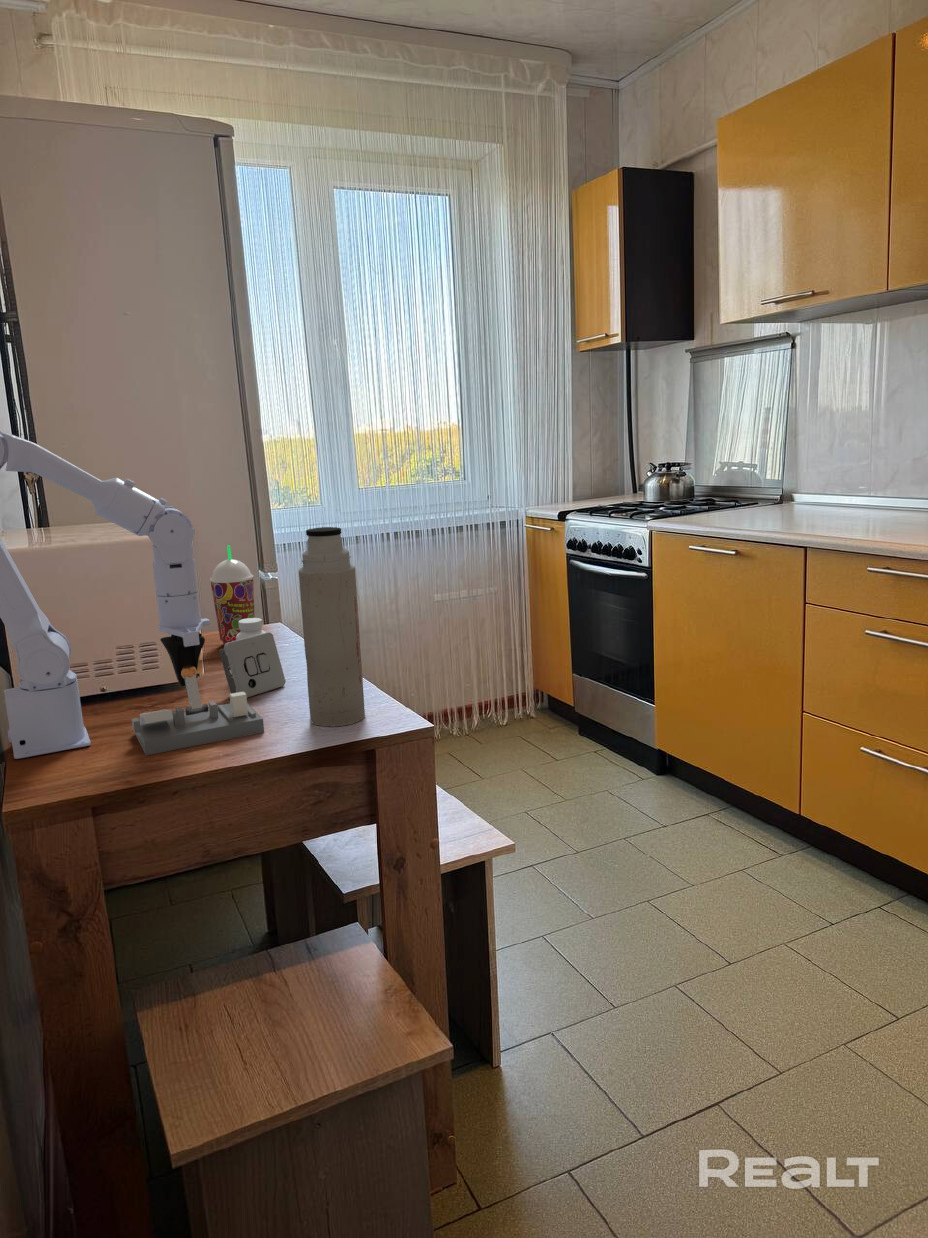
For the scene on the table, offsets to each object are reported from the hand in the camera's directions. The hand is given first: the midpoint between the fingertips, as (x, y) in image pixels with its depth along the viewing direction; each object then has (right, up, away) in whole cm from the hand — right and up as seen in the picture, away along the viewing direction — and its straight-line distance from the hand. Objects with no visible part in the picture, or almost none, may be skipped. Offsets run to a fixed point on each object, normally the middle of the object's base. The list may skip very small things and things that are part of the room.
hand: (187, 684), depth 127 cm
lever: (+3, -3, -4) cm, 6 cm away
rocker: (-2, -4, -7) cm, 8 cm away
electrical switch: (+6, -3, +16) cm, 17 cm away
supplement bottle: (+4, 0, +26) cm, 26 cm away
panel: (+3, -7, -3) cm, 8 cm away
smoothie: (-5, +4, +48) cm, 49 cm away
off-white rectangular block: (+8, -4, -3) cm, 10 cm away
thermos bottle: (+22, -5, +1) cm, 22 cm away
